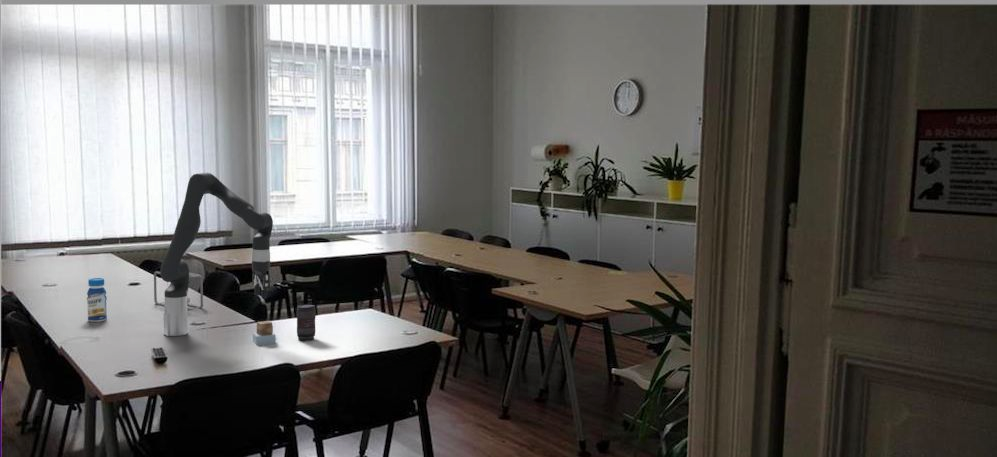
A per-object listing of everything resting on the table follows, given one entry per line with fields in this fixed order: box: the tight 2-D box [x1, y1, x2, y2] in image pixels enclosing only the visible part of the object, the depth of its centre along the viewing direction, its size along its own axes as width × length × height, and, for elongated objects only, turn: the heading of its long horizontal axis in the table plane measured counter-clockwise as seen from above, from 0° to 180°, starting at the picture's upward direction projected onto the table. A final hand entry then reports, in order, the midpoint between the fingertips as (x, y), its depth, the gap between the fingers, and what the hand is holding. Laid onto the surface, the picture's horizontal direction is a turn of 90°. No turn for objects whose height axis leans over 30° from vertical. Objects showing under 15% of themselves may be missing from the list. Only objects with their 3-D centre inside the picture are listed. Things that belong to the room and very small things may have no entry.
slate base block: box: [252, 331, 276, 346], centre depth 342 cm, size 8×8×4 cm
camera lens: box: [296, 304, 317, 342], centre depth 348 cm, size 8×8×15 cm
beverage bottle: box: [86, 277, 108, 323], centre depth 378 cm, size 8×8×20 cm
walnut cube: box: [256, 320, 273, 336], centre depth 342 cm, size 5×5×5 cm
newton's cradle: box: [153, 271, 204, 311], centre depth 415 cm, size 30×10×18 cm, turn 52°
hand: (260, 296), depth 341 cm, fingers open, 8 cm apart
